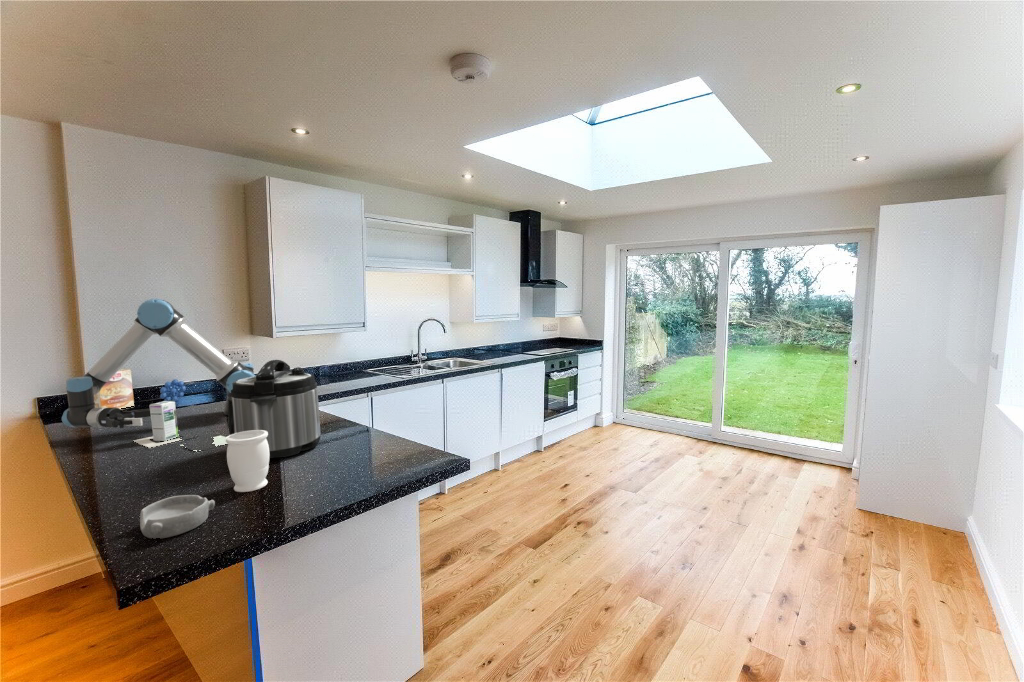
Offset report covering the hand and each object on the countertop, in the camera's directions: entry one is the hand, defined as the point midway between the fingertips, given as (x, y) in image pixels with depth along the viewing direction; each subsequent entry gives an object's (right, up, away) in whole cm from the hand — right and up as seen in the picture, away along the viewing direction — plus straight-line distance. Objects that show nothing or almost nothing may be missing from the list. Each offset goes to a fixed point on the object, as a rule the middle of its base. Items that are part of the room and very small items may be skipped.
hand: (157, 417), depth 179 cm
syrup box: (+3, -9, +1) cm, 9 cm away
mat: (+24, -9, -6) cm, 26 cm away
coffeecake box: (-63, -6, +55) cm, 84 cm away
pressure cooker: (+54, -9, -15) cm, 56 cm away
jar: (+63, -12, -47) cm, 79 cm away
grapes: (-46, -3, +72) cm, 85 cm away
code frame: (+3, -9, +1) cm, 9 cm away
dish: (+57, -14, -69) cm, 91 cm away
